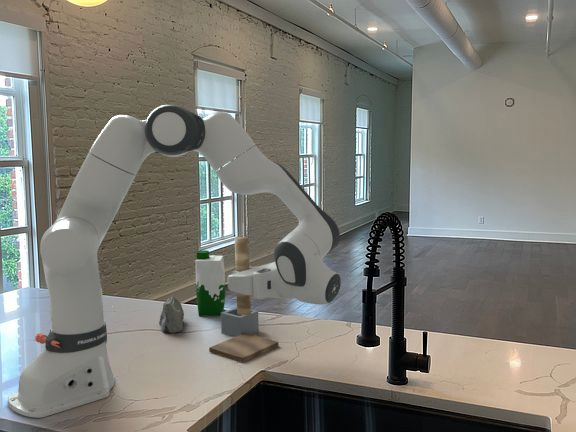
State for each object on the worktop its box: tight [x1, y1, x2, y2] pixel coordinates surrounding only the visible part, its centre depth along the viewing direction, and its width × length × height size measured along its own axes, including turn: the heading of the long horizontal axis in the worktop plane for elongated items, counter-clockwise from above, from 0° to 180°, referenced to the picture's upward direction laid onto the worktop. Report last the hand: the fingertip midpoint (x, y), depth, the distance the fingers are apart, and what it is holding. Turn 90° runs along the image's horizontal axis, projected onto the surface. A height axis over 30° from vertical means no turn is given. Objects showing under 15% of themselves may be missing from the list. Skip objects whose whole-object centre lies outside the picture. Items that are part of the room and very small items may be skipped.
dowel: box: [234, 236, 252, 315], centre depth 149 cm, size 4×4×20 cm
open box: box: [220, 306, 260, 338], centre depth 165 cm, size 8×8×6 cm
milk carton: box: [194, 249, 226, 317], centre depth 182 cm, size 9×9×20 cm
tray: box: [208, 333, 279, 363], centre depth 152 cm, size 14×12×1 cm
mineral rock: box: [158, 294, 185, 334], centre depth 170 cm, size 13×11×10 cm
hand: (240, 271), depth 149 cm, fingers closed on dowel, 4 cm apart
